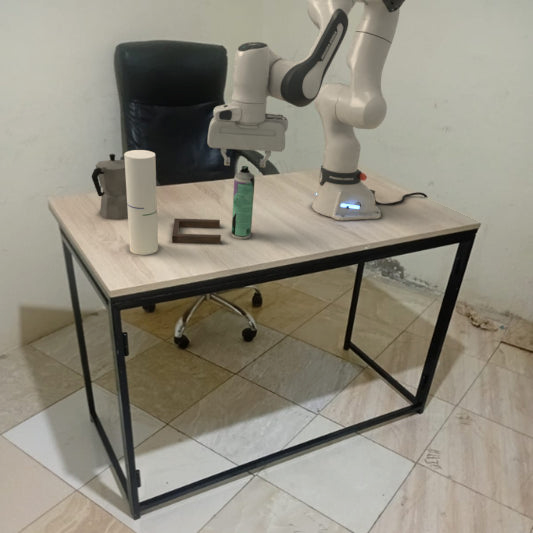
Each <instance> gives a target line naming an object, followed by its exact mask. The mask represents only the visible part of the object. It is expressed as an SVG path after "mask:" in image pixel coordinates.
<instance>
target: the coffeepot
mask: <svg viewBox="0 0 533 533" xmlns="http://www.w3.org/2000/svg"><path fill="white" fill-rule="evenodd" d="M91 180H92V182H93V185H94V188H95V191H96V193H97V196H98V197H101V199H100V210H99V215H100V216H101V217H102V218H105V219H107V220H122V219H123V220H124V219H126V218H128V208H127V191H126V174H125V159H116V154H114V153H110V154H109V159H106V160H101V161H98V162H97V163H96V164H95V168H94V169H93V172H92V173H91Z"/></svg>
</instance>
